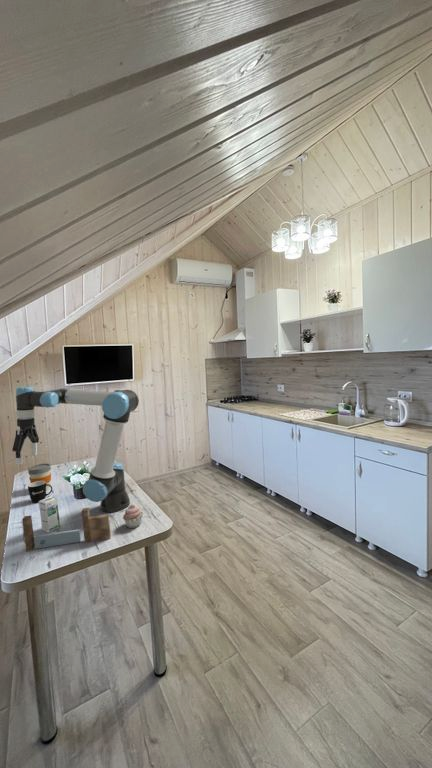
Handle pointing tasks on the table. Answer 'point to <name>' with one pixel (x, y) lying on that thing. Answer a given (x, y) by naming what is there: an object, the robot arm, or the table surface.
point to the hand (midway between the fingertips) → (26, 459)
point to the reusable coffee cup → (40, 474)
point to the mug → (38, 491)
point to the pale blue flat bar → (57, 538)
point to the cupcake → (133, 516)
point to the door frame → (92, 528)
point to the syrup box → (49, 514)
